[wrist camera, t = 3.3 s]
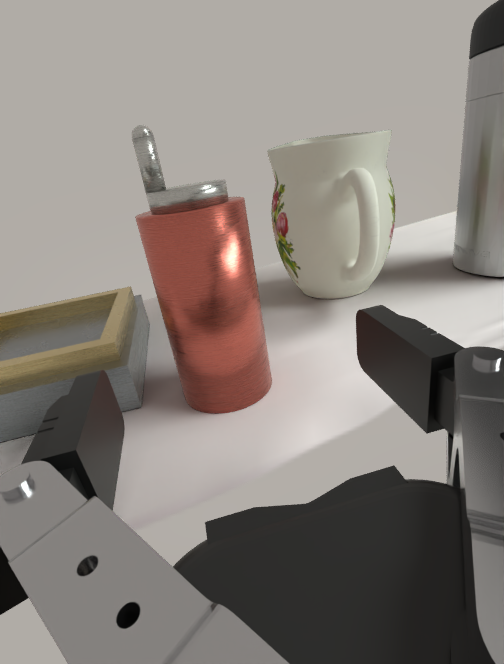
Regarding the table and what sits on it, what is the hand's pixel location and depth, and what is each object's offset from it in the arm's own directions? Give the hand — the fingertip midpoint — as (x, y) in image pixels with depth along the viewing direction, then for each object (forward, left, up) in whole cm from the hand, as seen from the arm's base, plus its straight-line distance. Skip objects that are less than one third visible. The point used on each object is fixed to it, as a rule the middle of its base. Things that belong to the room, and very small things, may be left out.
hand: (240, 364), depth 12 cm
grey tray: (+13, -17, -7) cm, 23 cm away
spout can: (0, -10, -7) cm, 12 cm away
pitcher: (-13, -22, -7) cm, 27 cm away
